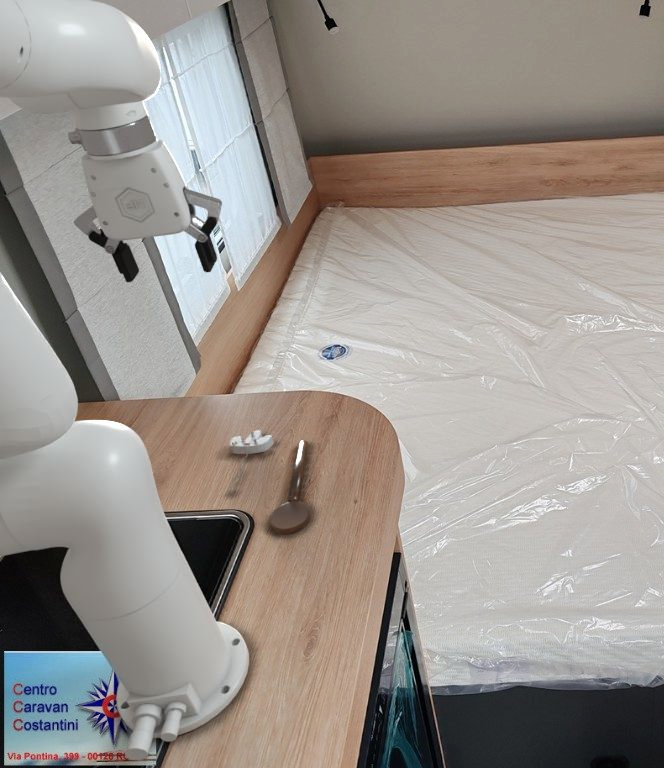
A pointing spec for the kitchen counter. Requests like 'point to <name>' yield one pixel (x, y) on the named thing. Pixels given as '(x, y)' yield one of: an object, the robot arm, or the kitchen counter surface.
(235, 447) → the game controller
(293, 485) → the spoon
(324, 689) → the kitchen counter surface
